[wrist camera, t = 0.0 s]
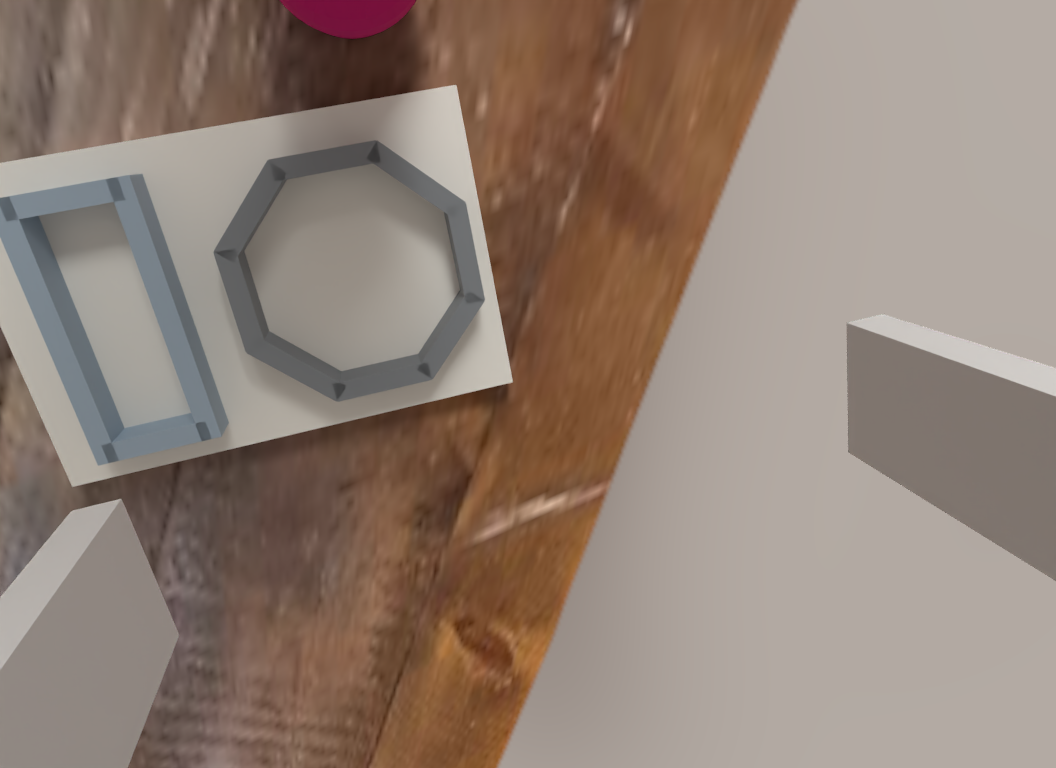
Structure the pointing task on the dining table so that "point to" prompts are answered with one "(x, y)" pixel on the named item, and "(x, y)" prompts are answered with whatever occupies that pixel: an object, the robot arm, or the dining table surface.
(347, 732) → the dining table surface
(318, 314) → the holder board
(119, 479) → the dining table surface
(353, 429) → the dining table surface
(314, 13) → the pepper mill
